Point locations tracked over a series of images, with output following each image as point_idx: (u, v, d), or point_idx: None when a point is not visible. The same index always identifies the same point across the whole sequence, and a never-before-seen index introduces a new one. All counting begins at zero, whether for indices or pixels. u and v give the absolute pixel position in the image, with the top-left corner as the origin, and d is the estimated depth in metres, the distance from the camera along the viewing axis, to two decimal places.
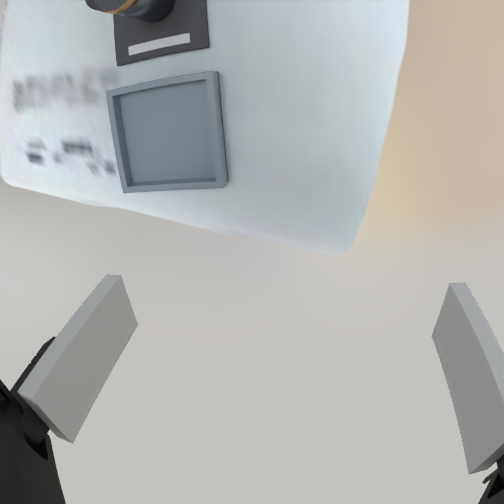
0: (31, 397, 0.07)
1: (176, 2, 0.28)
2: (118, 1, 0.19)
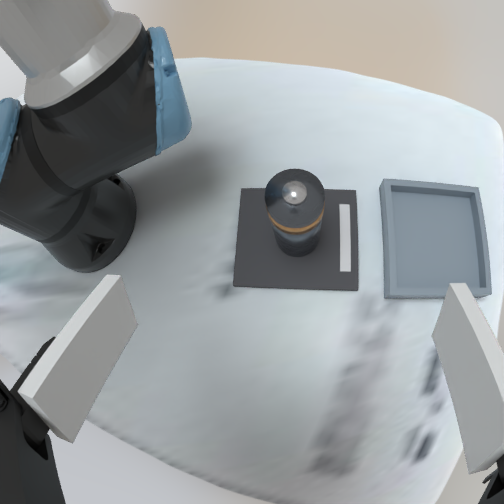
0: (31, 397, 0.07)
1: None
2: (320, 182, 0.26)
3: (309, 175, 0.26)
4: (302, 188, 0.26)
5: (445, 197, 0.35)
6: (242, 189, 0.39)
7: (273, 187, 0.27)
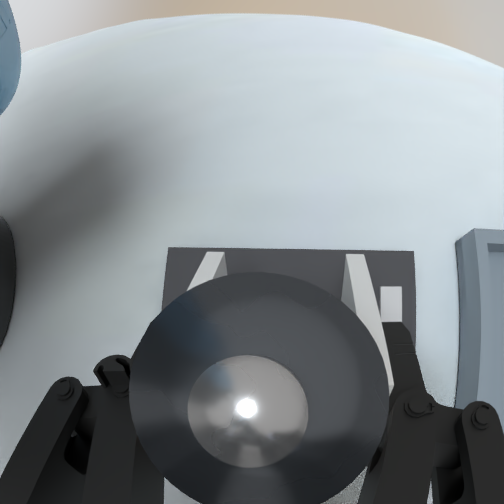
0: None
1: None
2: (374, 344, 0.05)
3: (324, 310, 0.06)
4: (287, 399, 0.05)
5: None
6: (170, 249, 0.18)
7: (161, 361, 0.06)
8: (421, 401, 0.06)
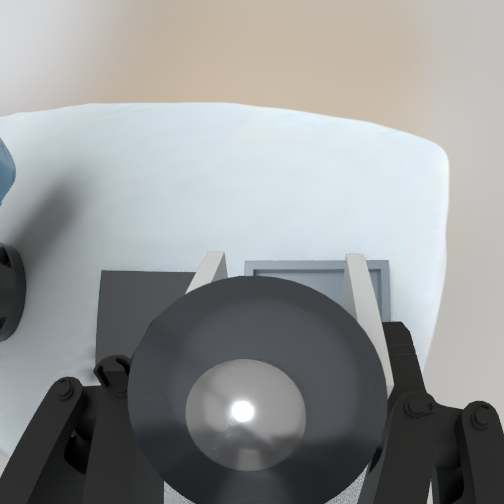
0: None
1: (154, 302, 0.33)
2: (372, 348, 0.05)
3: (322, 314, 0.06)
4: (285, 403, 0.05)
5: (338, 275, 0.30)
6: (102, 271, 0.34)
7: (160, 365, 0.06)
8: (421, 401, 0.06)
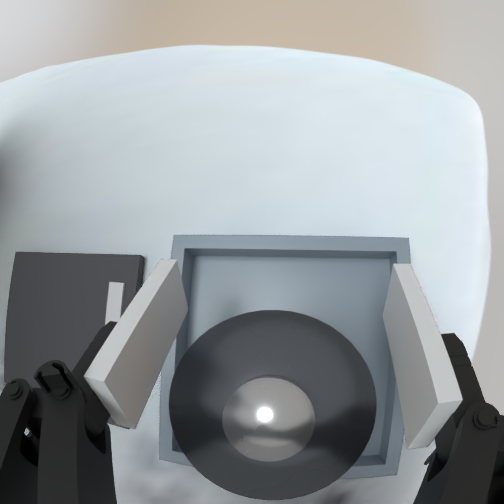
0: (102, 380, 0.08)
1: (63, 296, 0.21)
2: (365, 366, 0.07)
3: (327, 340, 0.07)
4: (299, 410, 0.06)
5: (326, 262, 0.19)
6: (16, 253, 0.23)
7: (196, 381, 0.07)
8: (488, 414, 0.05)
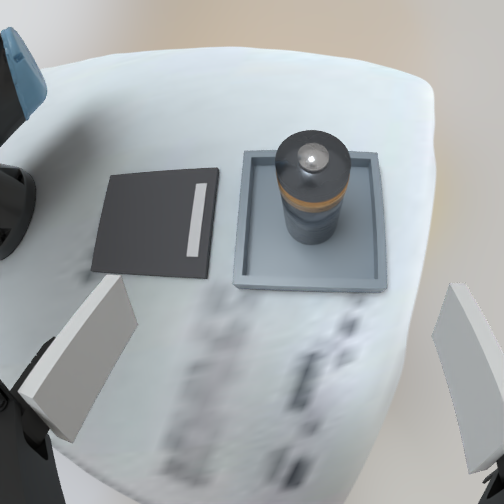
0: (31, 397, 0.07)
1: (157, 197, 0.34)
2: (344, 146, 0.20)
3: (330, 138, 0.20)
4: (323, 151, 0.19)
5: None
6: (111, 176, 0.36)
7: (286, 151, 0.20)
8: None
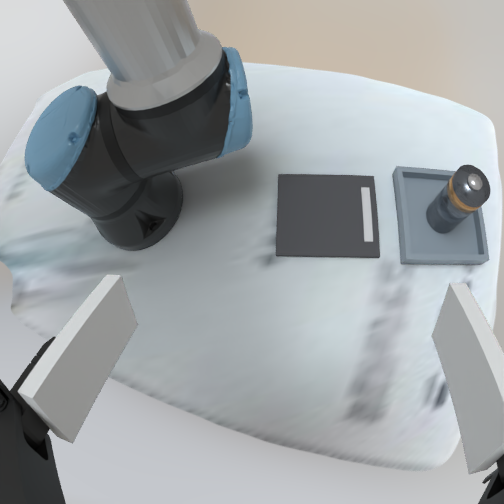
0: (31, 397, 0.07)
1: (330, 195, 0.44)
2: (484, 176, 0.30)
3: (478, 170, 0.30)
4: (479, 179, 0.29)
5: (447, 182, 0.41)
6: (279, 175, 0.46)
7: (460, 177, 0.30)
8: None
